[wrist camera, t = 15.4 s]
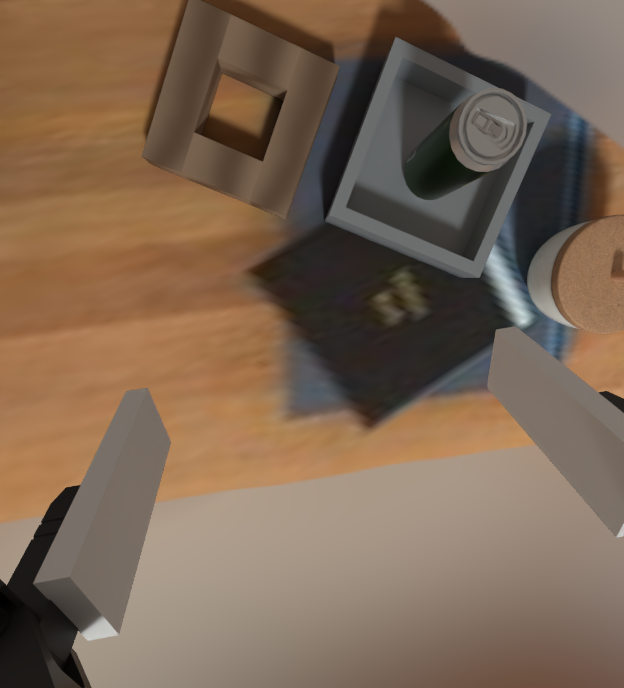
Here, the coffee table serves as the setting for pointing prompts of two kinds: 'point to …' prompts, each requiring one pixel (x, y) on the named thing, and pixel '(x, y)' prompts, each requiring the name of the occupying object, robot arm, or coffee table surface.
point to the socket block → (254, 70)
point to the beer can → (467, 144)
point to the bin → (390, 158)
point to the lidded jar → (582, 276)
